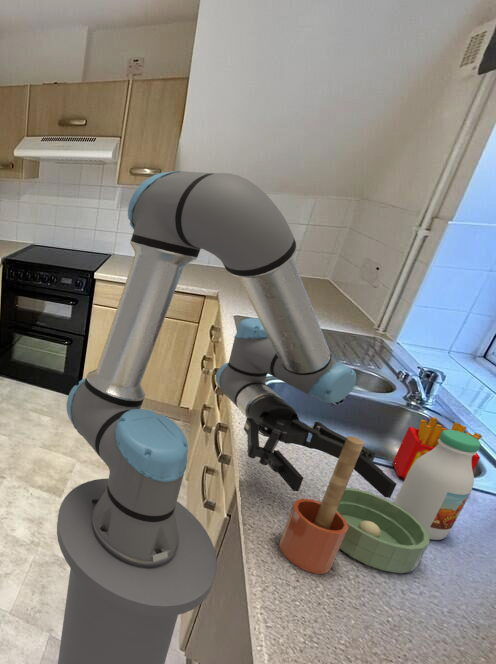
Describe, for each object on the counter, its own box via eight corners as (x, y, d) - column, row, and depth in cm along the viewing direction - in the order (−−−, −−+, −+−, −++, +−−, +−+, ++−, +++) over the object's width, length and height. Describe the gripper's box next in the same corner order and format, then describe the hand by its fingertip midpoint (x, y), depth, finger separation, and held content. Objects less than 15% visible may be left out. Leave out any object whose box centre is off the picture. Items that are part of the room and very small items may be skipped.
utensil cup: (281, 561, 70) (297, 521, 67) (277, 531, 76) (291, 492, 73) (334, 581, 67) (353, 540, 64) (325, 548, 73) (342, 508, 70)
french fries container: (459, 499, 84) (490, 442, 80) (399, 481, 89) (425, 426, 84) (447, 479, 90) (475, 425, 85) (391, 463, 95) (415, 410, 90)
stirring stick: (302, 559, 70) (349, 441, 62) (300, 550, 72) (345, 434, 63) (317, 564, 69) (366, 445, 61) (314, 554, 71) (361, 438, 63)
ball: (354, 527, 77) (353, 531, 74) (364, 515, 76) (364, 518, 74) (373, 541, 75) (374, 544, 72) (384, 528, 74) (385, 532, 72)
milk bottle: (404, 535, 76) (449, 445, 69) (380, 504, 83) (419, 420, 76) (457, 546, 74) (509, 455, 67) (428, 514, 81) (473, 428, 74)
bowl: (325, 552, 72) (336, 527, 70) (311, 502, 83) (321, 478, 81) (429, 589, 66) (444, 562, 64) (399, 529, 77) (412, 504, 75)
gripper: (325, 430, 84) (420, 512, 64) (199, 422, 86) (254, 500, 66) (337, 398, 81) (440, 473, 61) (207, 391, 83) (267, 462, 63)
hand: (344, 487), depth 64 cm, fingers open, 13 cm apart
